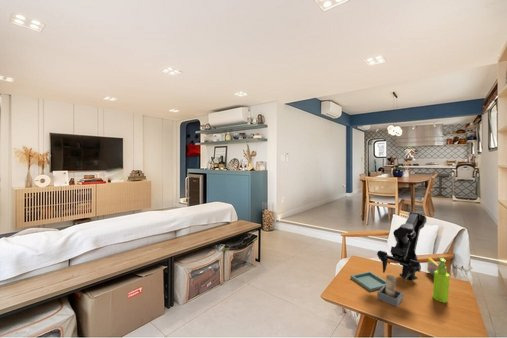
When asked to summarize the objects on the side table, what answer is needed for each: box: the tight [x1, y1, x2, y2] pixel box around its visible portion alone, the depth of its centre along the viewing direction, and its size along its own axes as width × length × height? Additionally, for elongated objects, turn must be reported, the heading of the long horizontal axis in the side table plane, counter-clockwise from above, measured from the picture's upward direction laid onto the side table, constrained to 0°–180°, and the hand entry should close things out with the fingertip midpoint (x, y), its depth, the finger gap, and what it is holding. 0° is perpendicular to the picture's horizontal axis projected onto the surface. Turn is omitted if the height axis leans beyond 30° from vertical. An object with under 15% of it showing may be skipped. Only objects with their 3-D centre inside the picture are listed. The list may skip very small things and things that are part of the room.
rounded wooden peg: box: [385, 274, 397, 298], centre depth 116 cm, size 4×4×11 cm
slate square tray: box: [376, 286, 404, 308], centre depth 116 cm, size 9×9×4 cm
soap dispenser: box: [432, 256, 451, 303], centre depth 117 cm, size 6×7×20 cm
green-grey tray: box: [350, 270, 386, 292], centre depth 131 cm, size 14×14×2 cm
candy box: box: [426, 257, 439, 277], centre depth 138 cm, size 16×2×8 cm, turn 168°
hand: (393, 275), depth 118 cm, fingers open, 9 cm apart
